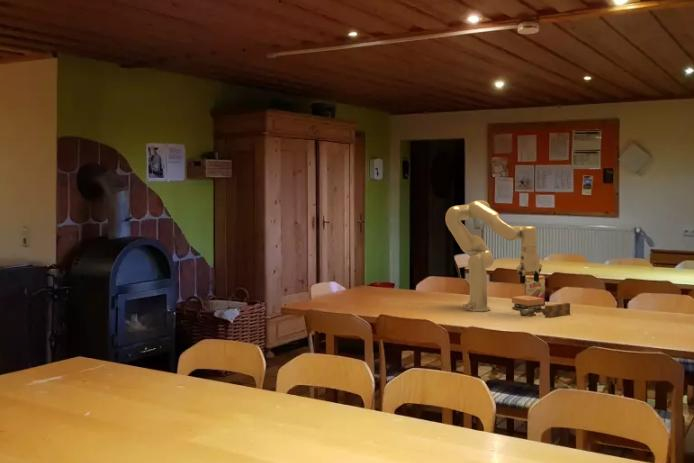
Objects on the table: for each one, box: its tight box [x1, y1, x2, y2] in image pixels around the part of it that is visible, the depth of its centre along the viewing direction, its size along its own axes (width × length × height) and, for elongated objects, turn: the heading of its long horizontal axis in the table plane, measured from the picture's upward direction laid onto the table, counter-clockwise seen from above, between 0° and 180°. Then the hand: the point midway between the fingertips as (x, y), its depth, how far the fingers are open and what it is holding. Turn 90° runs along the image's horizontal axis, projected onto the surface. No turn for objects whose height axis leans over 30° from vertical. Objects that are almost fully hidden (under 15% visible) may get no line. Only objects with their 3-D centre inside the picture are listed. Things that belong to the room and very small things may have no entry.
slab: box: [511, 295, 544, 306], centre depth 392 cm, size 11×13×3 cm
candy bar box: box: [523, 275, 546, 306], centre depth 407 cm, size 11×5×16 cm, turn 84°
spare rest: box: [527, 313, 537, 318], centre depth 377 cm, size 5×6×1 cm
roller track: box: [511, 303, 545, 316], centre depth 387 cm, size 9×25×4 cm, turn 30°
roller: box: [519, 308, 536, 317], centre depth 377 cm, size 7×3×3 cm, turn 120°
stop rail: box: [544, 302, 571, 319], centre depth 373 cm, size 16×2×6 cm, turn 120°
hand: (529, 282), depth 376 cm, fingers open, 9 cm apart
